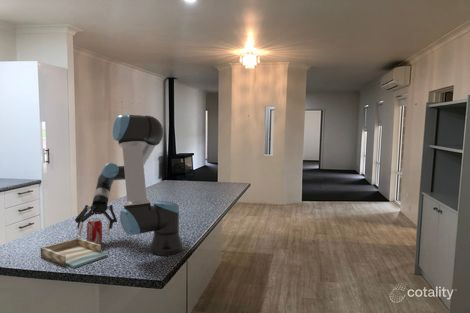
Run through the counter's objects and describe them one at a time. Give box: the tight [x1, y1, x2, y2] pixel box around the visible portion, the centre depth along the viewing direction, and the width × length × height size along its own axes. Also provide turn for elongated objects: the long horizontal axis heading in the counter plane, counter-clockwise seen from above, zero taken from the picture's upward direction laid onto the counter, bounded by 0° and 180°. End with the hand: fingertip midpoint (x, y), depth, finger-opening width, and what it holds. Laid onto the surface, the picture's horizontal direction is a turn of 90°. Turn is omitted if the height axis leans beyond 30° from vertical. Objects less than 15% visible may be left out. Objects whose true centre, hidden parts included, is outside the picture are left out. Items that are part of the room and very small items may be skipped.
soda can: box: [86, 217, 103, 244], centre depth 173 cm, size 7×7×12 cm
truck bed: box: [40, 237, 108, 269], centre depth 155 cm, size 24×18×4 cm
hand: (93, 234), depth 171 cm, fingers open, 13 cm apart
